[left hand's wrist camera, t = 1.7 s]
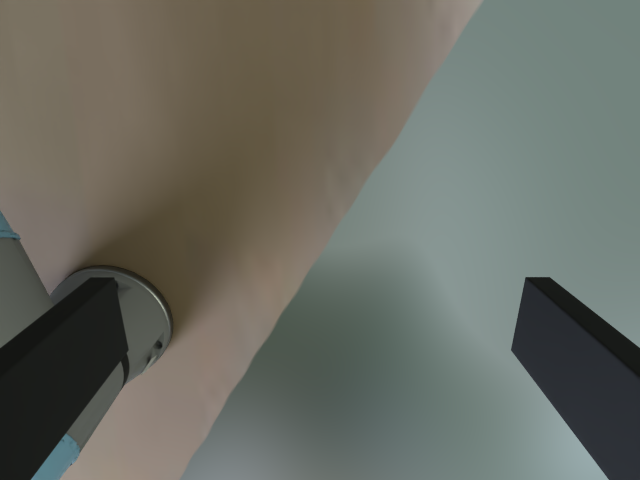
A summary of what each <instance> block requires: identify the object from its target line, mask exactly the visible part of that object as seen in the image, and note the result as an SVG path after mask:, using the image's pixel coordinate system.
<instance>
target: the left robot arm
mask: <svg viewBox="0 0 640 480" xmlns="http://www.w3.org/2000/svg"><path fill="white" fill-rule="evenodd" d="M20 239H21V238H20V236H19V235H18V234H16V233H14V232H13V230H12V229H11V227H10V225H9V224H8V222H7V221H6V219H5V217H4V216H3V214H2V213H1V211H0V480H59V479H60V478H61V476H62V475H63V474H64V472H65V471H66V470H67V469H68V467H69V466H70V465H72V464H73V463H74V462H75V461H76V460H77V458H78V456H79V453H80V452H81V450H82V449H83V447H84V446H85V444H86V443H87V441H88V440H89V438H90V437H91V435H92V434H93V432H94V430H95V429H96V427H97V426H98V424H99V423H100V421H101V420H102V418H103V417H104V415H105V414H106V412H107V411H108V409H109V408H110V406H111V405H112V403H113V401H114V400H115V398H116V397H117V395H118V394H119V392H120V391H121V389H122V388H123V386H124V385H125V384H126V383H128V382H129V381H131V380H132V379H134V378H135V377H136V376H138V375H139V374H141V373H142V374H143V373H145V372H146V371H147V369H148V368H149V367H151V366H152V365H153V364H154V363H155V362H156V361H157V360H158V359H159V358H160V357H161V356H162V354H163V353H164V351H165V349H166V348H167V346H168V344H169V342H170V340H171V337H172V333H173V319H172V314H171V311H170V308H169V306H168V304H167V302H166V300H165V299H164V297H163V296H162V294H161V293H160V292H159V291H158V290H157V289H156V288H155V287H154V286H153V285H152V284H151V283H150V282H148V281H147V280H146V279H144V278H143V277H141V276H139V275H137V274H136V273H133V272H131V271H128V270H125V269H122V268H118V267H113V266H94V267H88V268H85V269H82V270H80V271H77V272H76V273H74V274H72V275H71V276H69V277H68V278H67V279H65V280H64V281H62V282H61V283H60V284H59V285H58V286H57V287H56V289H55V290H54V291H53V292H52V293H51V295H50V296H49V295H48V293H47V291H46V289H45V287H44V285H43V283H42V282H41V280H40V278H39V276H38V274H37V272H36V270H35V269H34V267H33V265H32V263H31V261H30V259H29V257H28V256H27V254H26V252H25V250H24V248H23V246H22V244H21V243H20V241H19V240H20ZM511 351H512V352H513V353H514V355H515V356H516V357H517V359H518V360H519V361H520V363H521V364H522V365H523V366H524V368H525V369H526V370H527V372H528V373H529V374H530V376H531V377H532V378H533V380H534V381H535V382H536V384H537V385H538V386H539V388H540V389H541V390H542V392H543V393H544V394H545V396H546V397H547V398H548V399H549V401H550V402H551V404H552V405H553V406H554V407H555V409H556V410H557V411H558V413H559V414H560V415H561V417H562V418H563V419H564V421H565V422H566V423H567V425H568V426H569V427H570V429H571V430H572V431H573V433H574V434H575V435H576V437H577V438H578V439H579V441H580V442H581V443H582V445H583V446H584V447H585V449H586V450H587V451H588V453H589V454H590V455H591V456H592V458H593V459H594V460H595V462H596V463H597V464H598V466H599V467H600V468H601V470H602V471H603V472H604V474H605V475H606V476H607V478H608V479H609V480H640V348H639V347H638V346H636V345H635V344H634V343H633V342H631V341H630V340H629V339H628V338H626V337H625V336H624V335H622V334H621V333H620V332H619V331H617V330H616V329H615V328H614V327H612V326H611V325H610V324H608V323H607V322H606V321H605V320H603V319H602V318H601V317H600V316H598V315H597V314H596V313H594V312H593V311H592V310H591V309H589V308H588V307H587V306H586V305H584V304H583V303H582V302H580V301H579V300H578V299H577V298H575V297H574V296H573V295H571V294H570V293H569V292H568V291H566V290H565V289H564V288H563V287H561V286H560V285H559V284H557V283H556V282H555V281H554V280H552V279H551V278H550V277H526V278H525V283H524V288H523V293H522V298H521V303H520V308H519V313H518V318H517V323H516V328H515V333H514V338H513V343H512V348H511ZM142 374H141V375H142Z"/></svg>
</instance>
